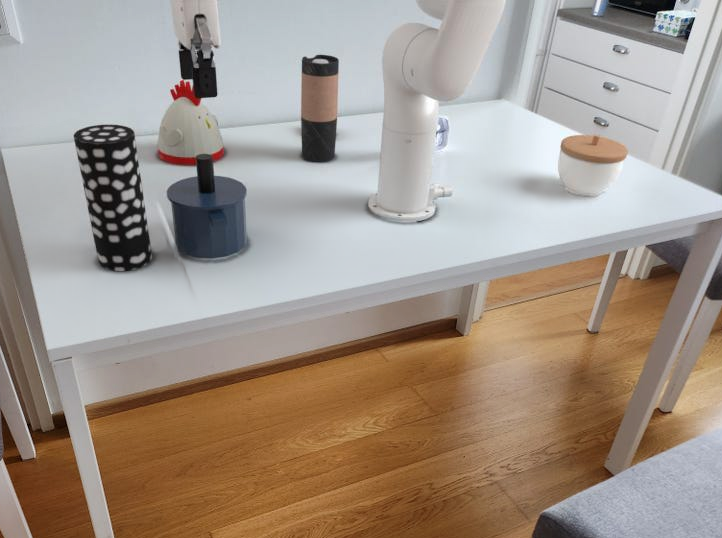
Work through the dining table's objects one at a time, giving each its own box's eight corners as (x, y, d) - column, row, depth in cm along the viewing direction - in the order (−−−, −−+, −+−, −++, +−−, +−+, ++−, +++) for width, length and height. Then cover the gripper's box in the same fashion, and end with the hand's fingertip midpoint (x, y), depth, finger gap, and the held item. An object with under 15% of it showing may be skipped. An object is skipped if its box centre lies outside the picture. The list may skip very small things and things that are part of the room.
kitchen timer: (194, 170, 139) (187, 94, 130) (145, 155, 144) (135, 82, 135) (236, 151, 149) (232, 79, 140) (188, 138, 154) (182, 68, 145)
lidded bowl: (560, 173, 145) (573, 121, 138) (620, 186, 140) (637, 133, 133) (543, 192, 136) (555, 137, 129) (606, 207, 131) (623, 151, 125)
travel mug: (331, 164, 144) (335, 65, 132) (297, 160, 145) (297, 61, 133) (338, 152, 150) (342, 56, 138) (305, 148, 151) (306, 53, 139)
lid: (236, 178, 115) (233, 139, 111) (255, 208, 105) (254, 167, 101) (161, 186, 111) (156, 146, 107) (175, 218, 102) (170, 175, 98)
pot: (233, 219, 121) (230, 170, 116) (258, 263, 109) (256, 211, 103) (168, 227, 118) (162, 177, 112) (187, 273, 105) (181, 220, 100)
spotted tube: (156, 246, 112) (139, 125, 100) (146, 271, 105) (127, 144, 93) (105, 245, 112) (82, 123, 99) (92, 270, 105) (66, 143, 93)
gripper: (231, -41, 82) (238, 103, 93) (202, -57, 95) (211, 71, 106) (169, -41, 80) (184, 107, 91) (148, -57, 93) (162, 73, 103)
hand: (198, 87), depth 98 cm, fingers open, 9 cm apart
